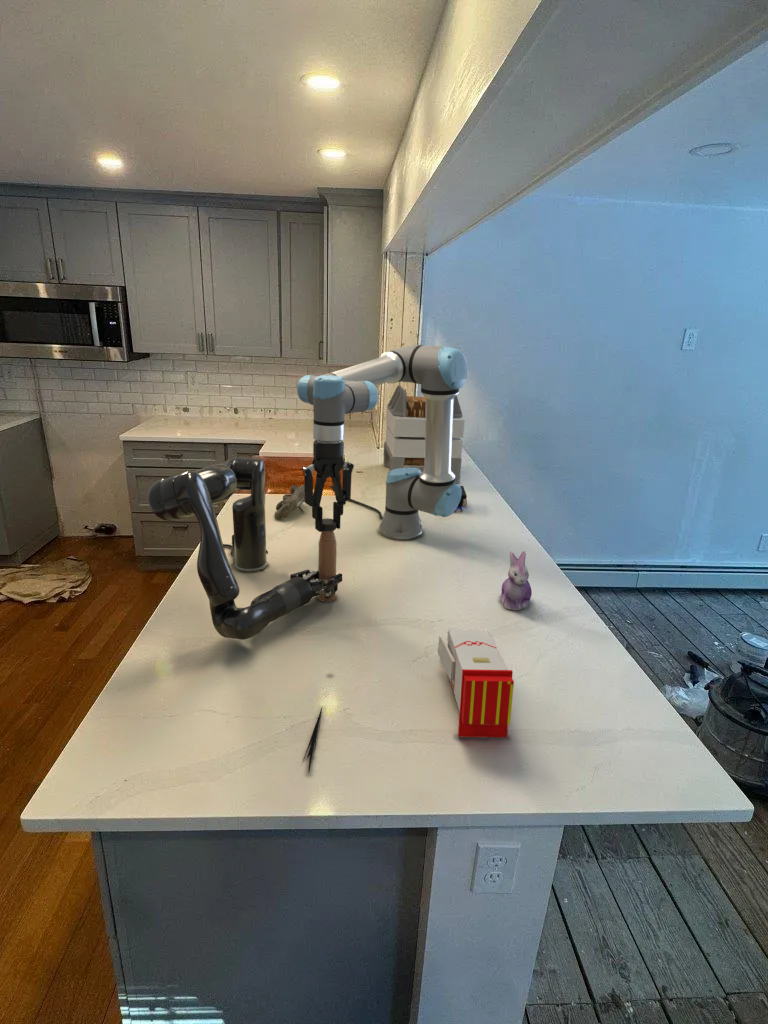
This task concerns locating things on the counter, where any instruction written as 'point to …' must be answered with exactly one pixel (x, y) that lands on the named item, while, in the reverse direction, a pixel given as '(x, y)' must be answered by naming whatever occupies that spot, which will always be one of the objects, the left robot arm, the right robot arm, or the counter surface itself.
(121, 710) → the counter surface
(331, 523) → the cap
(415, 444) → the stacked slatted crates
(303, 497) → the fossil
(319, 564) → the bottle
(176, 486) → the left robot arm
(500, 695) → the toy
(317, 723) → the feather
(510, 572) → the figurine
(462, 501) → the figurine character
